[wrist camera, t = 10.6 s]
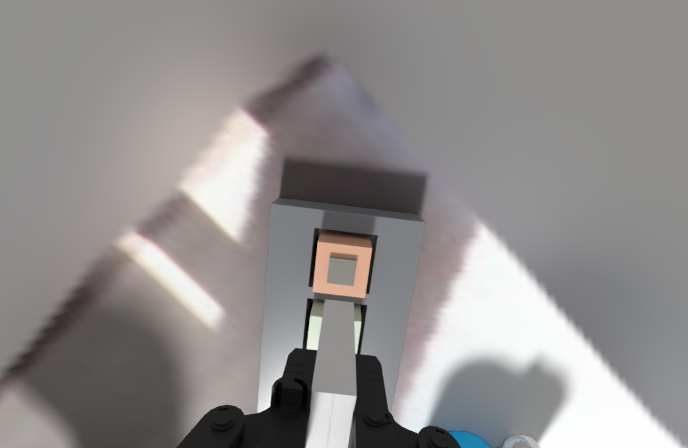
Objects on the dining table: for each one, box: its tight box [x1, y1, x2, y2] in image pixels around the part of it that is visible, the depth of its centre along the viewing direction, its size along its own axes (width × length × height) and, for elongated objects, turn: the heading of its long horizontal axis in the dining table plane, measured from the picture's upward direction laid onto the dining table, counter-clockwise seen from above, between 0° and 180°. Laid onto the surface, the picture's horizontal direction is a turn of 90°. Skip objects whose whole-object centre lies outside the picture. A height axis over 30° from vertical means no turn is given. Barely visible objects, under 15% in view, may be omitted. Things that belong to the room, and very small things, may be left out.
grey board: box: [257, 198, 426, 413], centre depth 30 cm, size 12×26×3 cm, turn 173°
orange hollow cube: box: [313, 229, 372, 298], centre depth 26 cm, size 4×4×4 cm
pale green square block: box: [307, 299, 362, 354], centre depth 27 cm, size 4×4×4 cm
